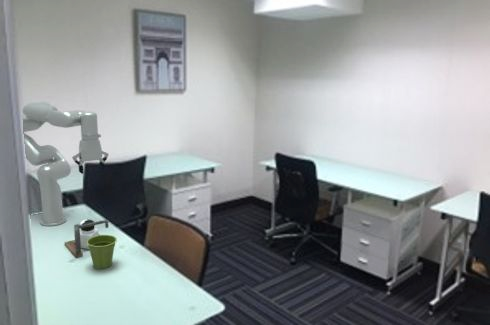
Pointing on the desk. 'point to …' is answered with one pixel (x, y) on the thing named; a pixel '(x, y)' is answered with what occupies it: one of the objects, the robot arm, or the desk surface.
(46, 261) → the desk surface
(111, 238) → the plant pot
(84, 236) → the medicine bottle
